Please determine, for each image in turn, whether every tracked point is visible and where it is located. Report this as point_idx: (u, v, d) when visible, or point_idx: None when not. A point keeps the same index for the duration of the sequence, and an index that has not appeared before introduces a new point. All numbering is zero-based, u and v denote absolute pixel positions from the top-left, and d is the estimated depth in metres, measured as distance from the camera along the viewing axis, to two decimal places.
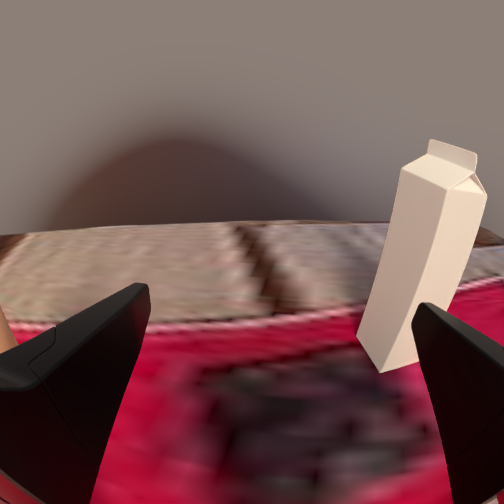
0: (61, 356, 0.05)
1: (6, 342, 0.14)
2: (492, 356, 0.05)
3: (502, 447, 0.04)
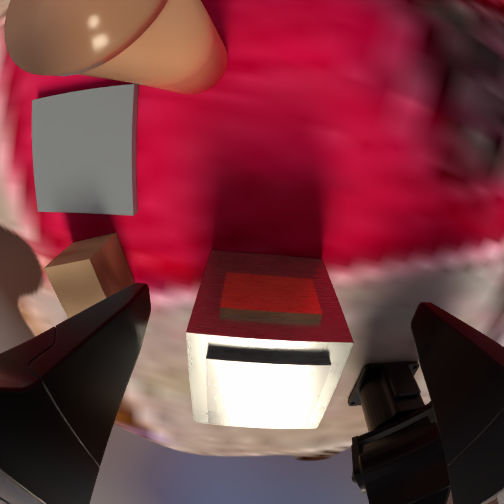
0: (61, 356, 0.05)
1: (201, 10, 0.08)
2: (492, 356, 0.05)
3: (502, 447, 0.04)
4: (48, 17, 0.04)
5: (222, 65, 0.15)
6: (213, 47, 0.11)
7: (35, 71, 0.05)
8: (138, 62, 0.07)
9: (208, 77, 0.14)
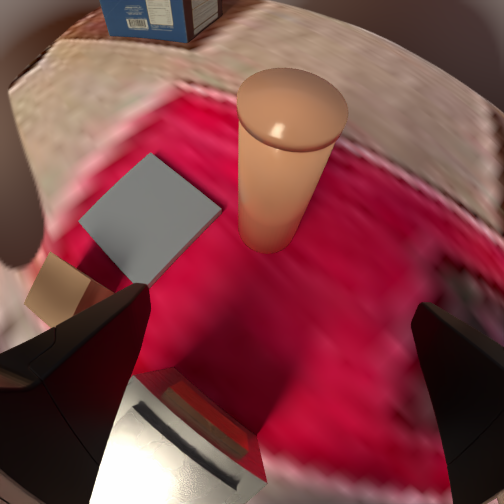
0: (61, 356, 0.05)
1: (318, 179, 0.15)
2: (492, 356, 0.05)
3: (502, 447, 0.04)
4: (271, 101, 0.11)
5: (287, 240, 0.22)
6: (299, 215, 0.19)
7: (245, 116, 0.11)
8: (278, 170, 0.13)
9: (275, 238, 0.21)
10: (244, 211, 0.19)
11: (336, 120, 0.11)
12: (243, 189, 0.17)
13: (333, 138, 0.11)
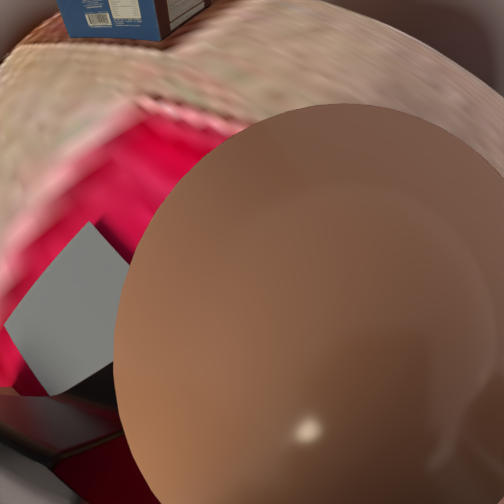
0: None
1: None
2: None
3: None
4: (323, 387, 0.02)
5: None
6: None
7: (169, 503, 0.02)
8: None
9: None
10: None
11: None
12: None
13: None
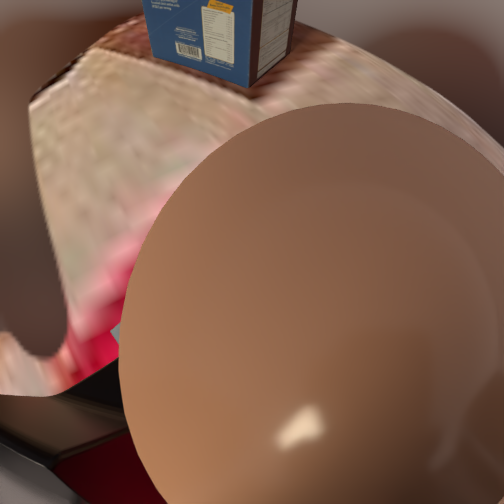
0: None
1: None
2: None
3: None
4: (328, 383, 0.02)
5: None
6: None
7: (174, 501, 0.02)
8: None
9: None
10: None
11: None
12: None
13: None
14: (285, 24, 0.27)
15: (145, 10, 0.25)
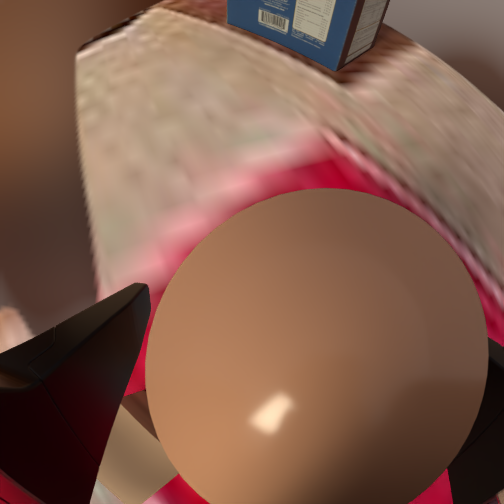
0: (61, 356, 0.05)
1: None
2: (492, 356, 0.05)
3: (502, 447, 0.04)
4: (270, 396, 0.03)
5: None
6: None
7: (178, 465, 0.03)
8: None
9: None
10: None
11: (456, 425, 0.03)
12: None
13: None
14: (379, 14, 0.22)
15: None
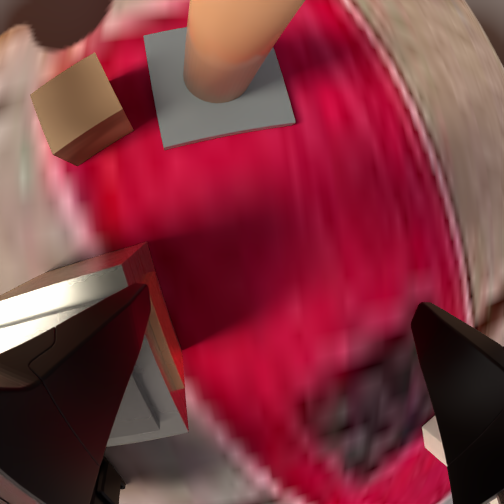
0: (61, 356, 0.05)
1: (283, 22, 0.09)
2: (492, 356, 0.05)
3: (502, 447, 0.04)
4: None
5: (230, 92, 0.16)
6: (248, 62, 0.13)
7: None
8: None
9: (215, 83, 0.15)
10: (187, 39, 0.12)
11: None
12: (189, 10, 0.10)
13: None
14: None
15: None
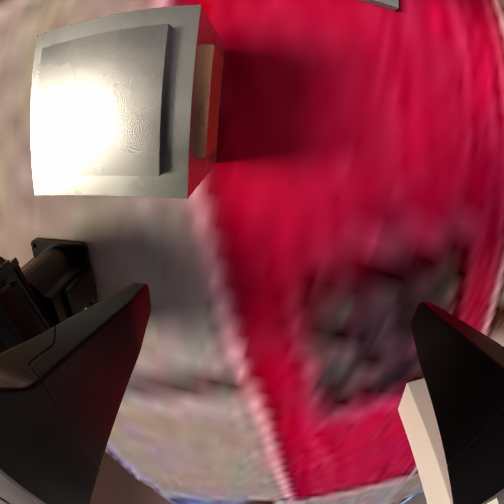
0: (61, 356, 0.05)
1: None
2: (492, 356, 0.05)
3: (502, 447, 0.04)
4: None
5: None
6: None
7: None
8: None
9: None
10: None
11: None
12: None
13: None
14: None
15: None
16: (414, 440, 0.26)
